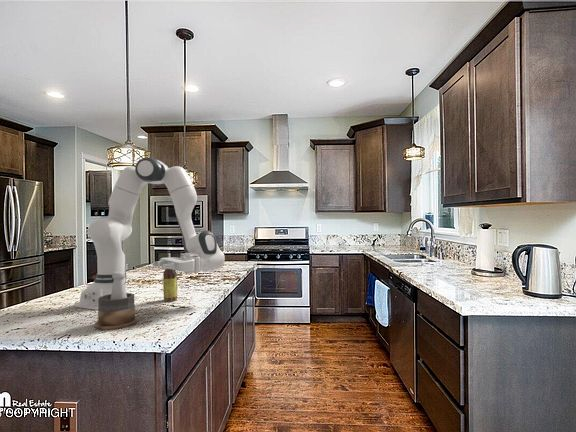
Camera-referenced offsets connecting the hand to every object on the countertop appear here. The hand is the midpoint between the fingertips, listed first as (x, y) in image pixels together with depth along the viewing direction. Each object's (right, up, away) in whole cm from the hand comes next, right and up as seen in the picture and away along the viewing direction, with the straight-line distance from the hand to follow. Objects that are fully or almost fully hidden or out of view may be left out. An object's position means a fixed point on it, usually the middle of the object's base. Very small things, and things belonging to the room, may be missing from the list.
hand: (157, 265), depth 133 cm
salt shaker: (-10, -14, -12) cm, 21 cm away
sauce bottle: (-3, -20, +23) cm, 31 cm away
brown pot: (-10, -20, -12) cm, 25 cm away
